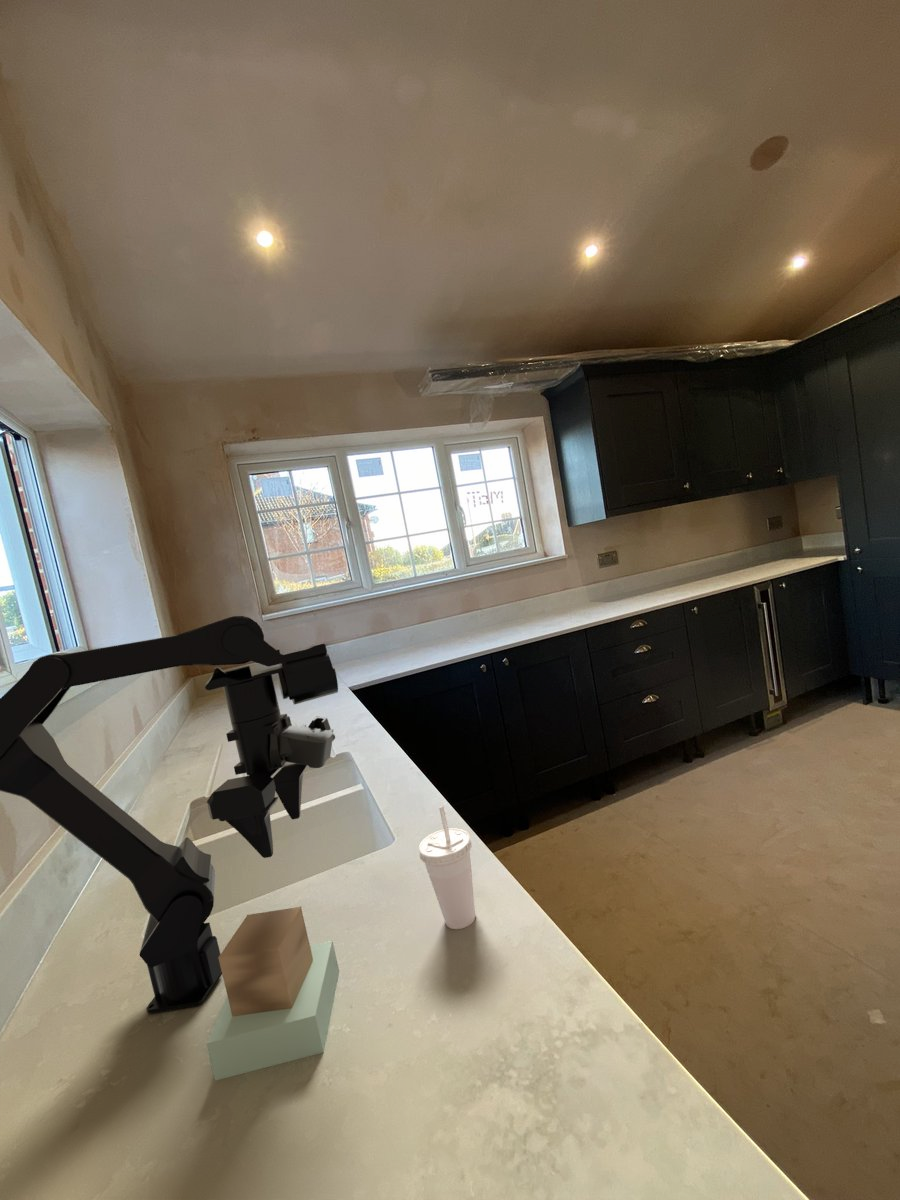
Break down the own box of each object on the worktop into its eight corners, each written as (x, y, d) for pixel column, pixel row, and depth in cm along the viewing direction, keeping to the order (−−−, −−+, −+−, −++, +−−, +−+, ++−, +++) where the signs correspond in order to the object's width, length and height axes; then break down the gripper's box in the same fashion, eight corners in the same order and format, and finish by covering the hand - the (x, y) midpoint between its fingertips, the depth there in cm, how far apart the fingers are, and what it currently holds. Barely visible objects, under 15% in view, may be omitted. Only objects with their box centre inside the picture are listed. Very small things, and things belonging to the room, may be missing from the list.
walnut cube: (232, 1016, 49) (218, 957, 49) (259, 967, 55) (247, 914, 55) (291, 1008, 49) (278, 948, 49) (313, 960, 55) (300, 906, 55)
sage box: (216, 1084, 47) (206, 1043, 47) (250, 996, 57) (242, 962, 57) (324, 1056, 48) (315, 1015, 48) (340, 974, 58) (332, 940, 58)
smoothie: (482, 936, 58) (457, 818, 58) (428, 938, 60) (403, 823, 59) (489, 899, 65) (467, 792, 64) (440, 902, 66) (418, 797, 65)
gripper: (291, 726, 54) (323, 868, 55) (338, 686, 73) (362, 792, 73) (190, 745, 55) (223, 886, 55) (262, 700, 73) (286, 806, 74)
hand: (283, 836), depth 64 cm, fingers open, 9 cm apart
